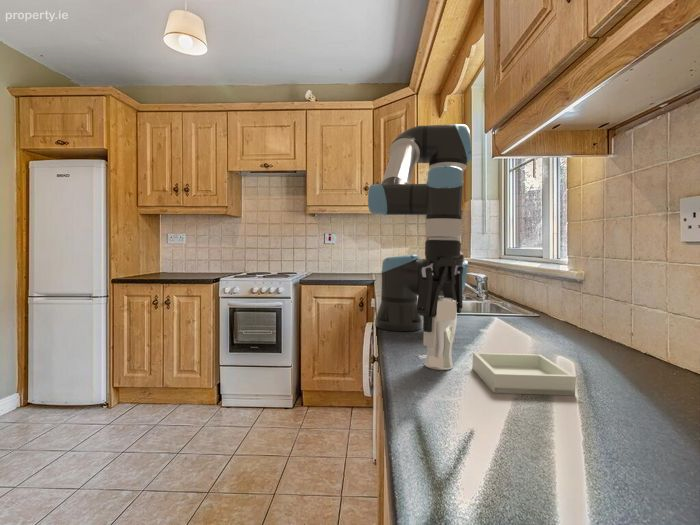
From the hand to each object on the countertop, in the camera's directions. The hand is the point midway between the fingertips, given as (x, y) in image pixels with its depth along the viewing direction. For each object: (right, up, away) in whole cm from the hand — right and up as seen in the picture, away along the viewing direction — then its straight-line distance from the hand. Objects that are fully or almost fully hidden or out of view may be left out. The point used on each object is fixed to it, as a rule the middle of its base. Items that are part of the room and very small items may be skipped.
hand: (439, 343), depth 90 cm
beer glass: (0, -5, 0) cm, 5 cm away
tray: (+14, -6, -8) cm, 17 cm away
